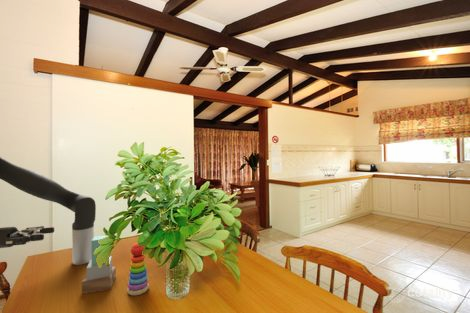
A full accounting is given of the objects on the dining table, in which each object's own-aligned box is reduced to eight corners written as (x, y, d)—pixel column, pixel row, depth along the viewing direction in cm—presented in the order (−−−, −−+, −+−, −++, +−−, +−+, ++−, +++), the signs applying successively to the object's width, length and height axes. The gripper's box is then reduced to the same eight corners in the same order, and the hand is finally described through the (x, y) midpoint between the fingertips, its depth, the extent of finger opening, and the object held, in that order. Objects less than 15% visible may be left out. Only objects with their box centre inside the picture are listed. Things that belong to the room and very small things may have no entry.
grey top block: (90, 271, 97) (90, 259, 97) (111, 267, 100) (111, 256, 100) (86, 280, 89) (86, 268, 89) (109, 276, 93) (109, 264, 93)
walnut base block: (90, 281, 98) (90, 269, 98) (115, 277, 101) (115, 266, 101) (81, 294, 89) (81, 281, 89) (110, 290, 92) (110, 277, 92)
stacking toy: (153, 288, 92) (152, 242, 92) (135, 299, 85) (135, 249, 85) (140, 282, 96) (140, 238, 96) (122, 292, 89) (122, 245, 89)
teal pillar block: (94, 259, 96) (94, 236, 96) (108, 258, 98) (107, 234, 98) (91, 265, 92) (91, 240, 92) (105, 263, 93) (105, 238, 93)
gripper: (-17, 234, 80) (39, 229, 85) (9, 222, 93) (56, 219, 98) (-16, 255, 80) (40, 249, 85) (10, 241, 93) (57, 236, 98)
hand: (48, 233), depth 91 cm, fingers open, 8 cm apart
